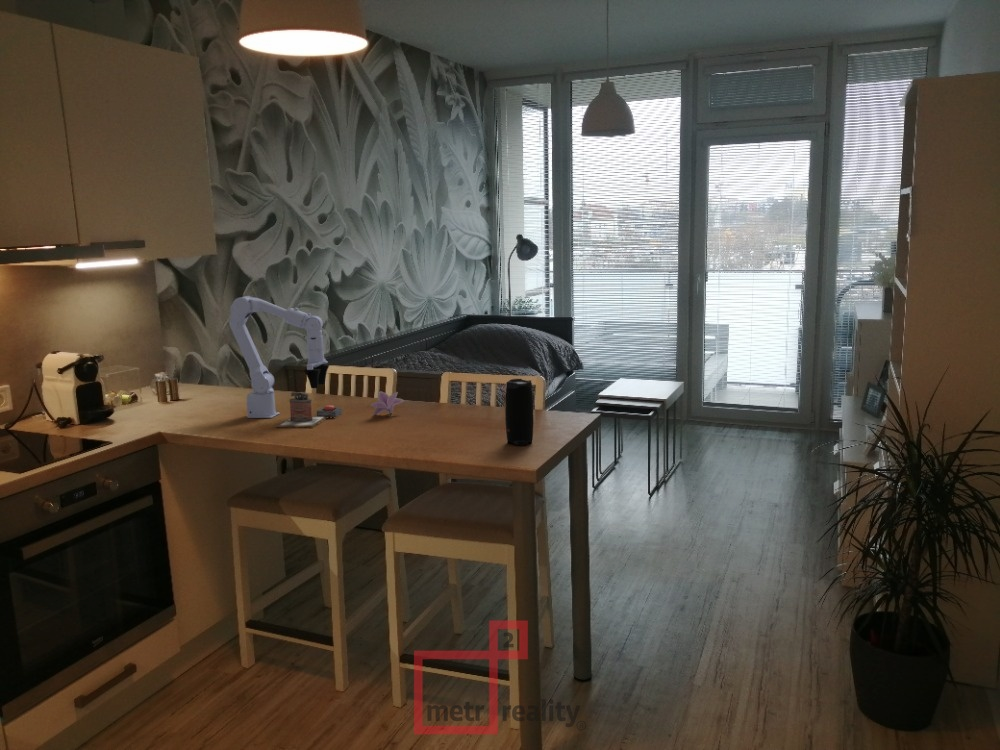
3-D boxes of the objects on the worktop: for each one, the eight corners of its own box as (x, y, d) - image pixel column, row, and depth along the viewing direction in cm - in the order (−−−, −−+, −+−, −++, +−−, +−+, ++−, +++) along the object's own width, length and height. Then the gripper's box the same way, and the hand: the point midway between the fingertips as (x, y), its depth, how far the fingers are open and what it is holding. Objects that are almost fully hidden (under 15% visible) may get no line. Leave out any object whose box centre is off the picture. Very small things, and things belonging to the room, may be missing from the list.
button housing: (317, 417, 283) (316, 411, 283) (323, 413, 290) (323, 407, 290) (335, 418, 283) (335, 411, 282) (341, 413, 289) (341, 407, 289)
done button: (322, 411, 285) (322, 407, 284) (326, 409, 288) (325, 405, 288) (332, 411, 284) (332, 407, 284) (335, 409, 288) (335, 405, 287)
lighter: (314, 419, 277) (312, 391, 276) (310, 421, 274) (308, 393, 273) (293, 419, 279) (291, 391, 277) (288, 420, 276) (287, 392, 274)
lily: (410, 416, 288) (402, 392, 290) (404, 410, 276) (395, 385, 279) (379, 427, 288) (371, 403, 290) (371, 422, 276) (364, 396, 279)
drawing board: (276, 427, 270) (276, 425, 270) (293, 417, 285) (292, 415, 284) (312, 427, 268) (312, 425, 268) (327, 418, 283) (327, 415, 283)
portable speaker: (510, 447, 238) (508, 384, 234) (503, 440, 247) (501, 379, 243) (537, 445, 240) (536, 382, 236) (529, 438, 249) (528, 377, 245)
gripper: (319, 352, 278) (321, 389, 280) (332, 346, 292) (334, 382, 294) (300, 352, 279) (302, 389, 281) (314, 346, 293) (316, 382, 295)
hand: (318, 386), depth 288 cm, fingers open, 7 cm apart
